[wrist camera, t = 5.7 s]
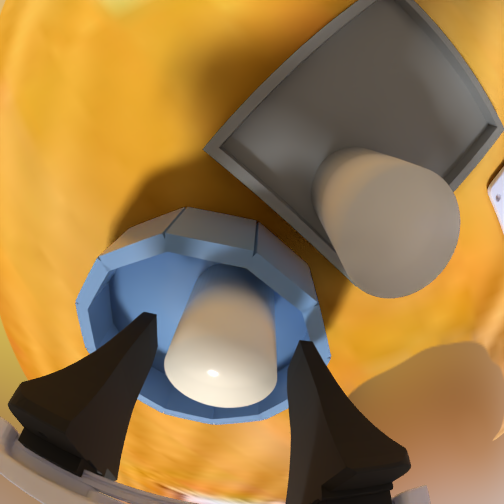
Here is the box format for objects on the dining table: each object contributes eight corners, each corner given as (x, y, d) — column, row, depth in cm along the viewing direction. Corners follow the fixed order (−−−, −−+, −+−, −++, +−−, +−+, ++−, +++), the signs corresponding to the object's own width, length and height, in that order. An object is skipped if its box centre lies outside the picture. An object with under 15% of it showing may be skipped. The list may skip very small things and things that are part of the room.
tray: (490, 126, 11) (504, 129, 9) (349, 274, 15) (356, 286, 14) (381, -13, 8) (390, -22, 7) (208, 146, 12) (202, 149, 11)
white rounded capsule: (283, 271, 14) (290, 347, 9) (264, 335, 16) (263, 413, 11) (196, 254, 14) (163, 323, 9) (190, 321, 16) (165, 395, 11)
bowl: (361, 312, 16) (377, 352, 13) (224, 405, 21) (219, 439, 18) (180, 155, 13) (153, 167, 10) (80, 312, 17) (57, 343, 14)
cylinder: (411, 194, 12) (476, 236, 7) (351, 251, 14) (389, 318, 9) (356, 127, 11) (415, 134, 6) (291, 193, 13) (308, 240, 8)
